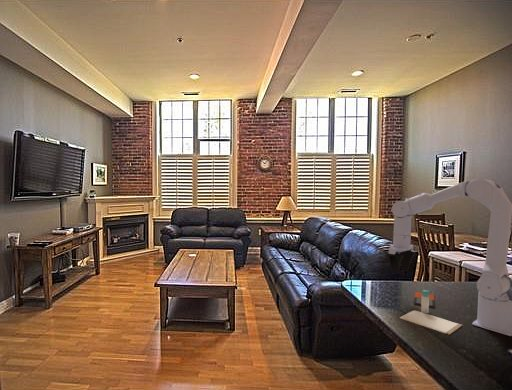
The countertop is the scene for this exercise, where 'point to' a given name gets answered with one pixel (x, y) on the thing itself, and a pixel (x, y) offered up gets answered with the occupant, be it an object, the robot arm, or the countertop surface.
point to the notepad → (431, 322)
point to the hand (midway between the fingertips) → (400, 271)
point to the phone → (419, 297)
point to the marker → (425, 301)
